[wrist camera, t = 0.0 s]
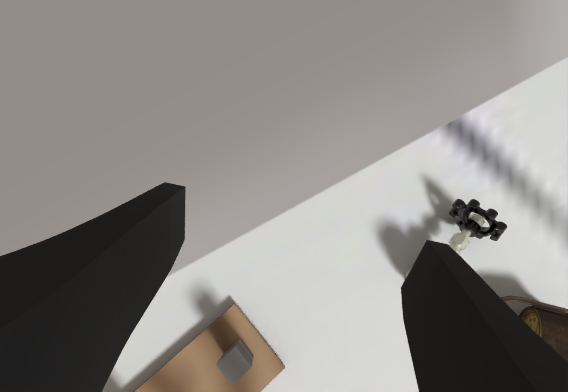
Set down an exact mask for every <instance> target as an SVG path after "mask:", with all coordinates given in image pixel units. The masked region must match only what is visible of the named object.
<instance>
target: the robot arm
mask: <svg viewBox="0 0 568 392" xmlns="http://www.w3.org/2000/svg"><path fill="white" fill-rule="evenodd" d="M184 239H185V187H184V186H180V185H175V184H171V183H166V182H165V183H163V184H161V185H159V186H156V187H154V188H153V189H151V190H149V191H147V192H145V193H143V194H142V195H139V196H137V197H136V198H134V199H132V200H130V201H128V202H126V203H124V204H122V205H120V206H118V207H116V208H114V209H112V210H110V211H109V212H106V213H104V214H102V215H100V216H98V217H96V218H94V219H92V220H89V221H87V222H85V223H83V224H81V225H79V226H76V227H74V228H72V229H70V230H68V231H66V232H63V233H61V234H58V235H56V236H54V237H51V238H49V239H46V240H44V241H41V242H39V243H36V244H33V245H30V246H28V247H25V248H22V249H20V250H17V251H15V252H11V253H9V254H6V255H3V256H0V392H102V390H103V388H104V386H105V384H106V382H107V380H108V378H109V376H110V374H111V372H112V370H113V368H114V366H115V364H116V362H117V360H118V358H119V356H120V354H121V352H122V350H123V348H124V346H125V344H126V342H127V341H128V339H129V337H130V335H131V334H132V332H133V330H134V329H135V327H136V325H137V324H138V322H139V321H140V319H141V317H142V316H143V314H144V312H145V311H146V309H147V308H148V306H149V304H150V303H151V301H152V300H153V298H154V296H155V295H156V293H157V292H158V290H159V288H160V287H161V285H162V283H163V282H164V280H165V278H166V277H167V275H168V273H169V272H170V270H171V268H172V266H173V264H174V262H175V260H176V257H177V256H178V253H179V251H180V249H181V246H182V244H183V242H184ZM401 294H402V309H403V319H404V324H405V329H406V334H407V339H408V344H409V348H410V353H411V357H412V362H413V366H414V371H415V375H416V380H417V384H418V389H419V392H568V361H566V360H565V359H564V358H563V357H562V356H561V355H559V354H558V353H557V352H556V351H555V350H554V349H553V348H552V347H551V346H549V345H548V344H547V343H546V342H545V341H544V340H543V339H542V338H541V337H540V336H539V335H538V334H537V333H536V332H534V331H533V330H532V329H531V328H530V327H529V326H528V325H527V324H526V323H525V322H524V321H523V320H522V319H521V318H520V317H519V316H518V315H517V314H516V313H515V312H514V311H513V310H512V309H511V308H510V307H509V306H508V305H507V304H506V303H505V302H504V301H503V300H502V299H501V298H500V297H499V296H498V295H497V294H496V293H495V292H494V291H493V290H492V289H491V288H490V287H489V286H488V285H487V284H486V283H485V281H484V280H483V279H482V278H481V277H480V276H479V275H478V274H477V273H476V272H475V271H474V270H473V269H472V268H471V267H470V266H469V265H468V264H467V263H466V262H465V261H464V260H463V259H462V257H461V256H460V255H459V254H458V253H456V252H455V251H454V250H453V249H452V248H451V247H450V246H449V245H448V244H443V243H439V242H434V241H430V240H427V241H426V243H425V245H424V247H423V248H422V250H421V252H420V254H419V256H418V257H417V259H416V261H415V263H414V265H413V267H412V268H411V270H410V272H409V274H408V276H407V278H406V279H405V281H404V283H403V285H402V287H401Z"/></svg>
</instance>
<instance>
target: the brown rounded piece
mask: <svg viewBox="0 0 568 392" xmlns="http://www.w3.org/2000/svg"><path fill="white" fill-rule="evenodd" d="M501 299H502V300H503V301H504V302H506V301H519V302H524V303H528V304H531V305H532V306H531V307H527V308H525V309H524V310H523V311H522V312H521V313H520V315H519V317H520V318H521V319H522V320H523V321H524V322H525V323H526V324H527V325H528V326H529V327H530V328H531V329H532V330H533V331H534V332H536V333H537V334H538V335H539V336H540V337H541V338H542V339H543V340H544V341H545V342H546V343H547V344H548V345H549V346H551V347H552V348H553V349H554V350H555V351H556V352H557V353H558V354H559V355H561V356H562V357H563V358H564V359H565V360H566V361H568V309H565V308H561V307H557V306H554V305H550V304H546V303H542V302H538V301H534V300H530V299H526V298H522V297H516V296H506V297H502V298H501Z"/></svg>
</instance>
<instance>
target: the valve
mask: <svg viewBox="0 0 568 392" xmlns="http://www.w3.org/2000/svg"><path fill="white" fill-rule="evenodd" d="M452 206H453V209H452V210H451V211H450V212H449V214H450V216H452V217H453V218H455V216H459V218H460V220H461V221H460V222H459V223H458V226H459V228H460V231H461V233H456V234H454V235H453V237H452V238H451V239H450V240H449V243H450V245H449V246H450V247H451V248H452V249H453V250H454V251H455V252H456V253H458V254H459V255H461V254H460V252H459V251H462V250H464V249H465V248H466V247H467V246H468V244H469V243H470V241H469V239H468V237H477V238H479V239H482V238H483V237H485V236H489V235H491V237H490V239H491V240H494V241H497V240H498V239H499V238H500V236H501V234H502V233H503V232H504V231H505V230H506V228H507V225H506V224H505V223H503V222H497V221H496V220H495V218H496V217H497V215H498V212H497V211H496V210H494V209H488V210H487V211H486V210H483V209H482V208H480V207H479V206H480V203H479V202H478V201H477V200H475V199H472V200H470V202H469V203H468V204H467V205H466V204H465V203H464V201H462V200H461V199H457V200H456V201H455V202H454V203H453V205H452ZM457 207H458V208H457ZM471 212H474V213H477V214H479V215H477V214H471V215H470V216H469V214H470V213H471ZM468 216H469V217H468ZM481 216H482V217H483V218H485V219H486V220H487V222H488V223H489V225H490V227H482V225H483V224H484V223H485V221H484V219H483V218H482V217H481ZM496 229H498V230H496ZM413 265H414V264H413ZM413 265H412V266H411V267H410V269H409V270H408V271H407V272H406V277H407V276H408V274H409V272H410V270H411V268H412V267H413Z"/></svg>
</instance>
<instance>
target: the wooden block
mask: <svg viewBox="0 0 568 392" xmlns="http://www.w3.org/2000/svg"><path fill="white" fill-rule="evenodd" d="M284 368H285V366H284V364H283V363H282V362H281V361H280V359H279V358H278V357H277V356H276V354H275V353H274V352H273V351H272V349H271V348H270V347H269V346H268V344H267V343H266V342H265V340H264V339H263V338H262V337H261V335H260V334H259V333H258V332H257V330H256V329H255V328H254V327H253V325H252V324H251V323H250V322H249V320H248V319H247V318H246V317H245V315H244V314H243V313H242V311H241V310H240V309H239V308H238V306H237V305H236V304H234V305H233V306H232V307H231V308H229V309H228V310H227V311H226V312H225V313H224V314H223V315H221V316H220V317H219V318H218V319H217V320H216V321H215V322H213V323H212V324H211V325H210V326H209V327H208V328H207V329H205V330H204V331H203V332H202V333H201V334H200V335H199V336H197V337H196V338H195V339H194V340H193V341H192V342H191V343H189V344H188V345H187V346H186V347H185V348H184V349H183V350H181V351H180V352H179V353H178V354H177V355H176V356H175V357H173V358H172V359H171V360H170V361H169V362H168V363H167V364H165V365H164V366H163V367H162V368H161V369H160V370H159V371H157V372H156V373H155V374H154V375H153V376H152V377H151V378H150V379H148V380H147V381H146V382H145V383H144V384H143V385H142V386H140V387H139V388H138V389H137V390H136V391H135V392H261V391H262V390H263V389H264V388H265V387H266V386H267V385H268V384H269V383H270V382H271V381H272V380H273V379H274V378H275V377H276V376H277V375H278V374H279V373H280V372H281V371H282V370H283V369H284Z"/></svg>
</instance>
